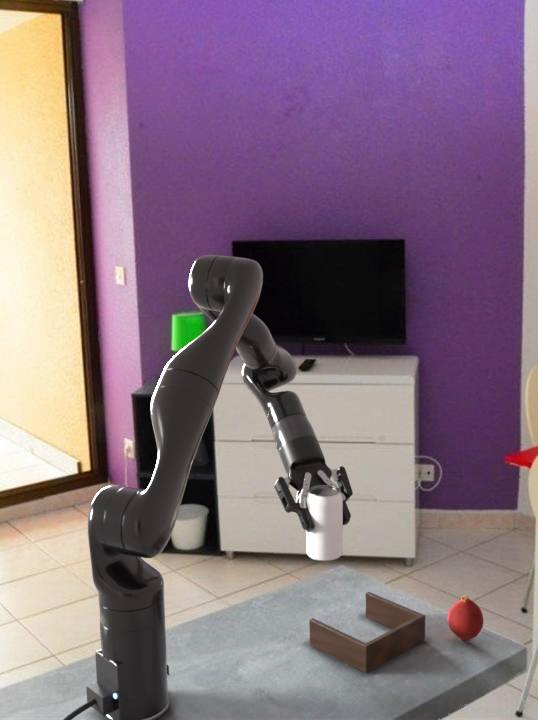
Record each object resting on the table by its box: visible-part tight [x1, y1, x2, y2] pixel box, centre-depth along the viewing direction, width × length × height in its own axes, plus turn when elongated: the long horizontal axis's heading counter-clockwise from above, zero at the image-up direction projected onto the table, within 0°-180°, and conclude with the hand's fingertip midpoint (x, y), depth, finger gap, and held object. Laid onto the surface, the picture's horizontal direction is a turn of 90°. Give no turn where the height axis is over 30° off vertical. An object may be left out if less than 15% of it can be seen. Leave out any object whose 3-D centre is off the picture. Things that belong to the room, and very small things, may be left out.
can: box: [305, 485, 344, 562], centre depth 160 cm, size 6×6×12 cm
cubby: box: [309, 591, 426, 674], centre depth 150 cm, size 15×13×4 cm
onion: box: [446, 595, 485, 642], centre depth 150 cm, size 6×6×8 cm
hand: (329, 526), depth 159 cm, fingers closed on can, 6 cm apart
